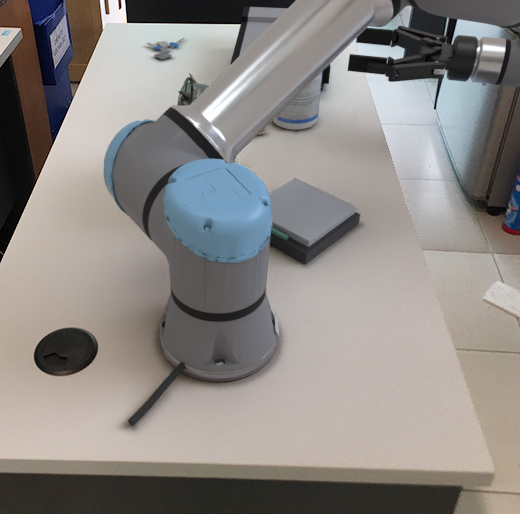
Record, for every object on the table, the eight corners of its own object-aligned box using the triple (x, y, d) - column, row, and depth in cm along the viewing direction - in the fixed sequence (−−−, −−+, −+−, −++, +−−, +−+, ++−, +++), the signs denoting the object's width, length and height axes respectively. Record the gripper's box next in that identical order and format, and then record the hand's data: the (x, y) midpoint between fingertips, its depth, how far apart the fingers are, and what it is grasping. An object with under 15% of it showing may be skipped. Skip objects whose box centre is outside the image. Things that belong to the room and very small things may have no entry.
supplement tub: (327, 123, 127) (336, 50, 117) (289, 136, 123) (296, 61, 113) (296, 105, 133) (303, 34, 123) (260, 117, 129) (263, 44, 119)
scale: (305, 264, 94) (307, 247, 92) (236, 226, 101) (236, 209, 99) (358, 224, 101) (361, 207, 99) (290, 191, 108) (292, 175, 106)
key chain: (169, 61, 149) (169, 58, 149) (136, 58, 151) (135, 54, 150) (185, 40, 159) (185, 36, 159) (154, 37, 161) (153, 34, 160)
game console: (229, 95, 136) (230, 57, 131) (243, 40, 160) (244, 6, 154) (326, 100, 134) (331, 62, 129) (325, 44, 158) (329, 10, 152)
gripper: (469, 110, 105) (341, 96, 109) (467, 54, 123) (357, 43, 127) (481, 66, 100) (347, 53, 104) (477, 13, 117) (363, 4, 122)
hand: (352, 48), depth 115 cm, fingers open, 13 cm apart
